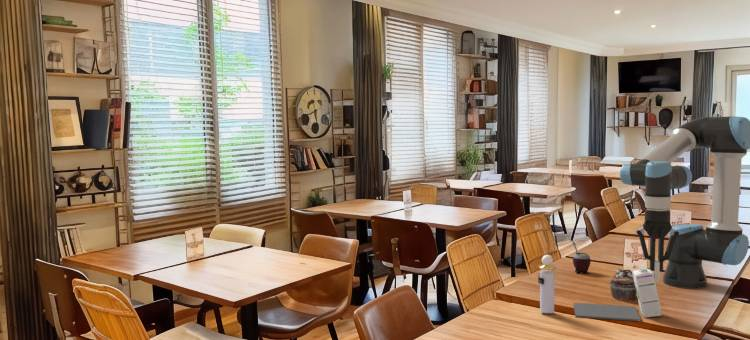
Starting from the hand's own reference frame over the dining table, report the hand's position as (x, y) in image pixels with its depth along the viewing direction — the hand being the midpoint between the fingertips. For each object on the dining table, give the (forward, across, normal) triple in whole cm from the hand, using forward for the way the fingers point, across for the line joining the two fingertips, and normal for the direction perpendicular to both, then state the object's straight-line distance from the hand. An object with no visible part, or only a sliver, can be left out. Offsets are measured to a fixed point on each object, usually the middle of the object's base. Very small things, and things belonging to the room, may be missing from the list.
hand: (656, 280), depth 194 cm
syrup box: (+12, +1, 0) cm, 12 cm away
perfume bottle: (+12, +34, +4) cm, 37 cm away
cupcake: (+12, +7, -20) cm, 24 cm away
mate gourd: (+12, +20, -53) cm, 57 cm away
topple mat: (+12, +15, 0) cm, 19 cm away
